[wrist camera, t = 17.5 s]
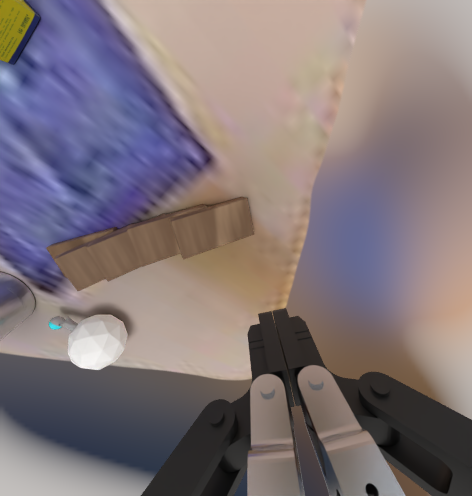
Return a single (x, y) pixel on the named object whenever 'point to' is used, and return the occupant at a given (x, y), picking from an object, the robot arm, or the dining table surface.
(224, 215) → the domino
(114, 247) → the domino
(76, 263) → the domino
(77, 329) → the perfume bottle
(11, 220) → the dining table surface
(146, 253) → the domino
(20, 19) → the supplement box
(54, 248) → the domino
